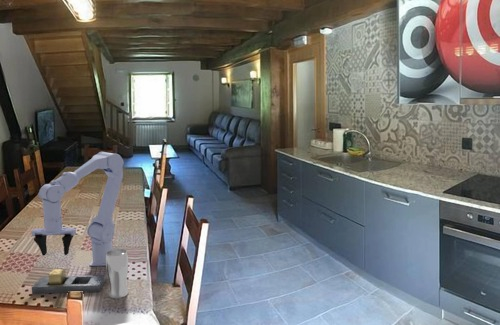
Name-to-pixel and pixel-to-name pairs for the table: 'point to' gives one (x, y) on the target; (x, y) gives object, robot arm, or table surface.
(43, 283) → the rail
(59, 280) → the block
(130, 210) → the table surface
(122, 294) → the beer glass
